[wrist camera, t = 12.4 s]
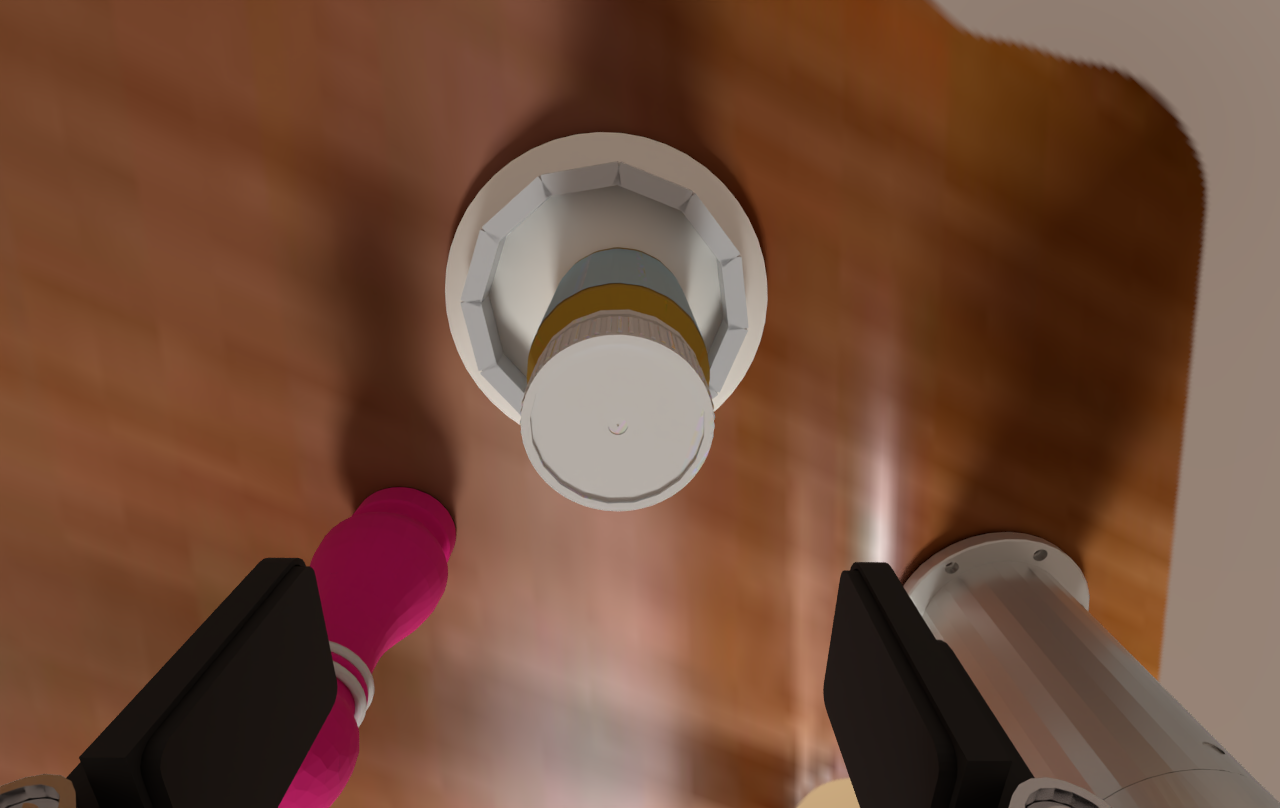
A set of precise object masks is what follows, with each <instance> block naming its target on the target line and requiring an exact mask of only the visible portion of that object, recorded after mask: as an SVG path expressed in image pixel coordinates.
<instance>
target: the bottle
mask: <svg viewBox="0 0 1280 808" xmlns="http://www.w3.org/2000/svg"><path fill="white" fill-rule="evenodd" d="M709 381H710V368H709V361H708V355H707V350H706V346H705V343H704V340H703V338H702V335H701V333H700V330H699V328H698V326H697V323H696V321H695V318H694V316H693V314H692V311H691V309H690V306H689V304H688V302H687V299H686V297H685V294H684V292H683V290H682V288H681V286H680V285H679V283H678V281H677V279H676V277H675V276H674V275H673V273H672V272H671V271H670V270H669V269H668V268H667V267H666V266H665V265H664V264H663V263H662V262H661V261H659V260H658V259H657V258H655V257H653V256H651V255H649V254H647V253H644V252H642V251H640V250H636V249H629V248H621V247H614V248H609V249H604V250H599V251H596V252H593V253H591V254H590V255H588V256H586V257H584V258H582V259H581V260H579V261H578V262H577V263H575V264H574V265H573V266H572V268H571V269H570V270H569V271H568V272H567V273H566V274H565V275H564V277H563V278H562V279H561V281H560V283H559V285H558V287H557V289H556V291H555V293H554V296H553V298H552V300H551V302H550V304H549V306H548V309H547V311H546V313H545V315H544V317H543V319H542V322H541V324H540V326H539V328H538V330H537V333H536V335H535V338H534V340H533V342H532V345H531V348H530V352H529V356H528V365H527V387H526V390H525V392H524V397H523V400H522V403H521V405H522V408H521V411H520V416H521V420H520V426H521V435H522V439H523V444H524V447H525V450H526V452H527V455H528V457H529V459H530V461H531V463H532V465H533V466H534V468H535V469H536V471H537V472H538V474H539V475H540V476H541V477H542V478H543V480H544V481H545V482H546V483H547V484H548V485H549V486H551V487H552V488H553V489H554V490H556V491H557V492H558V493H560V494H561V495H563V496H564V497H566V498H568V499H570V500H572V501H574V502H576V503H578V504H581V505H584V506H587V507H590V508H594V509H599V510H606V511H629V510H636V509H641V508H645V507H649V506H652V505H654V504H657V503H659V502H661V501H664V500H666V499H667V498H669V497H671V496H672V495H674V494H676V493H677V492H678V491H680V490H681V489H682V488H683V487H684V486H686V485H687V484H688V483H689V482H690V481H691V480H692V478H693V477H694V476H695V475H696V474H697V472H698V471H699V469H700V468H701V466H702V465H703V463H704V461H705V459H706V457H707V455H708V452H709V449H710V447H711V443H712V439H713V436H714V434H713V431H714V428H715V424H714V419H715V414H714V411H713V410H714V404H713V402H712V396H711V393H710V390H709Z"/></svg>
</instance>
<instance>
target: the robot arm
mask: <svg viewBox="0 0 1280 808" xmlns="http://www.w3.org/2000/svg"><path fill="white" fill-rule="evenodd" d="M1089 598H1090V595H1089V590H1088V585H1087V581H1086V579H1085V577H1084V575H1083V573H1082V571H1081V569H1080V568H1079V567H1078V566H1077V564H1076V563H1075V562H1074V561H1073V560H1072V559H1071V558H1070V557H1069V556H1068V555H1067V554H1066V553H1064V552H1063V551H1062V550H1061V549H1060V548H1059V547H1057V546H1056V545H1054V544H1052V543H1050V542H1048V541H1047V540H1045V539H1043V538H1040V537H1036V536H1033V535H1029V534H1025V533H1015V532H998V533H988V534H983V535H979V536H974V537H970V538H967V539H965V540H962V541H960V542H957V543H954V544H952V545H950V546H948V547H947V548H945V549H943V550H941V551H939V552H938V553H936V554H934V555H933V556H932V557H931V558H929V559H928V560H927V561H926V562H924V563H923V564H922V565H920V566H919V568H918V569H917V570H916V571H915V572H914V573H913V574H912V575H911V576H910V577H909V578H908V580H907V581H906V583H905V584H904V586H903V585H902V584H901V582H900V581H899V579H898V577H897V576H896V574H895V573H894V571H893V569H892V568H891V566H890V565H889V564H888V563H880V562H855V563H853V565H852V566H851V570H850V571H843V572H842V574H841V577H840V583H839V589H838V596H837V602H836V609H835V615H834V622H833V628H832V635H831V641H830V648H829V654H828V661H827V667H826V674H825V680H824V689H823V691H824V702H825V707H826V710H827V713H828V716H829V719H830V722H831V725H832V728H833V731H834V733H835V736H836V739H837V742H838V745H839V748H840V751H841V754H842V756H843V759H844V762H845V765H846V768H847V771H848V774H849V777H850V780H851V782H852V785H853V788H854V791H855V794H856V797H857V800H858V802H859V805H860V808H1280V803H1279V801H1278V800H1276V799H1275V798H1274V796H1273V795H1272V794H1270V792H1269V791H1267V790H1266V789H1265V788H1264V787H1263V786H1262V785H1261V784H1260V783H1259V782H1258V781H1257V780H1256V779H1255V778H1254V777H1253V776H1252V775H1251V774H1250V773H1249V772H1248V771H1247V770H1246V769H1245V768H1244V767H1243V766H1242V765H1241V764H1240V763H1239V762H1238V761H1237V760H1236V759H1235V758H1234V757H1233V756H1232V755H1231V754H1230V753H1229V752H1228V751H1227V750H1226V749H1225V748H1224V747H1223V746H1222V745H1221V744H1220V743H1219V742H1218V741H1217V740H1216V739H1215V738H1214V737H1213V736H1212V735H1211V734H1210V733H1209V732H1208V731H1207V730H1206V729H1205V728H1204V727H1203V726H1202V725H1201V724H1200V723H1199V722H1198V721H1197V720H1196V719H1195V718H1194V717H1193V716H1192V715H1191V714H1190V713H1189V712H1188V711H1187V710H1186V709H1185V708H1184V707H1183V706H1182V705H1181V704H1180V703H1179V702H1178V701H1177V700H1176V699H1175V698H1174V697H1173V696H1172V695H1171V694H1170V693H1169V692H1168V691H1167V690H1166V689H1165V688H1164V687H1163V686H1162V685H1161V684H1160V683H1159V682H1158V681H1157V680H1156V679H1155V678H1154V677H1153V676H1152V675H1151V674H1150V673H1149V672H1148V671H1147V670H1146V669H1145V668H1144V667H1143V666H1142V665H1141V664H1140V663H1139V662H1138V661H1137V660H1136V659H1135V658H1134V657H1133V656H1132V655H1131V654H1130V653H1129V652H1128V651H1127V650H1126V649H1125V648H1124V647H1123V646H1122V645H1121V644H1120V643H1119V642H1118V641H1117V640H1116V639H1115V638H1114V637H1113V636H1112V635H1111V634H1110V633H1109V632H1108V631H1107V630H1106V629H1105V628H1104V627H1103V626H1102V625H1101V624H1100V623H1099V622H1098V621H1097V620H1096V619H1095V618H1094V617H1093V616H1092V615H1091V614H1090V613H1089V612H1088V611H1089ZM337 688H338V686H337V679H336V674H335V669H334V664H333V659H332V654H331V649H330V644H329V640H328V635H327V630H326V625H325V620H324V615H323V610H322V605H321V600H320V595H319V590H318V585H317V580H316V575H315V572H314V570H313V568H312V567H309V566H306V565H305V563H304V561H303V560H302V559H300V558H265V559H263V560H262V561H260V562H259V563H258V564H257V565H256V567H255V568H254V569H253V570H252V571H251V572H250V573H249V574H248V575H247V576H246V577H245V578H244V580H243V581H242V582H241V583H240V584H239V585H238V586H237V587H236V588H235V589H234V590H233V591H232V593H231V594H230V595H229V596H228V597H227V598H226V599H225V600H224V601H223V602H222V603H221V604H220V606H219V607H218V608H217V609H216V610H215V611H214V612H213V613H212V614H211V615H210V616H209V617H208V619H207V620H206V621H205V622H204V623H203V624H202V625H201V626H200V627H199V628H198V629H197V630H196V631H195V633H194V634H193V635H192V636H191V637H190V638H189V639H188V640H187V641H186V642H185V643H184V644H183V646H182V647H181V648H180V649H179V650H178V651H177V652H176V653H175V654H174V655H173V656H172V657H171V659H170V660H169V661H168V662H167V663H166V664H165V665H164V666H163V667H162V668H161V669H160V670H159V672H158V673H157V674H156V675H155V676H154V677H153V678H152V679H151V680H150V681H149V682H148V683H147V684H146V686H145V687H144V688H143V689H142V690H141V691H140V692H139V693H138V694H137V695H136V696H135V697H134V699H133V700H132V701H131V702H130V703H129V704H128V705H127V706H126V707H125V708H124V709H123V710H122V712H121V713H120V714H119V715H118V716H117V717H116V718H115V719H114V720H113V721H112V722H111V723H110V725H109V726H108V727H107V728H106V729H105V730H104V731H103V732H102V733H101V734H100V735H99V736H98V738H97V739H96V740H95V741H94V742H93V743H92V744H91V745H90V746H89V747H88V748H87V749H86V750H85V752H84V753H83V754H82V755H81V756H80V757H79V759H80V761H81V762H80V763H79V765H78V766H77V767H76V768H75V769H74V770H73V771H72V772H71V773H70V774H69V776H68V777H67V778H65V777H63V776H61V775H51V774H42V775H37V776H31V777H25V778H22V779H19V780H16V781H14V782H11V783H8V784H5V785H2V786H0V808H278V806H279V805H280V803H281V801H282V799H283V797H284V796H285V794H286V792H287V790H288V788H289V786H290V785H291V783H292V781H293V779H294V777H295V775H296V774H297V772H298V770H299V768H300V766H301V764H302V763H303V761H304V759H305V757H306V755H307V754H308V752H309V750H310V748H311V746H312V744H313V743H314V741H315V739H316V737H317V735H318V733H319V732H320V730H321V728H322V726H323V724H324V722H325V721H326V719H327V717H328V715H329V713H330V712H331V710H332V708H333V706H334V703H335V700H336V696H337Z"/></svg>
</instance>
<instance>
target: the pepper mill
mask: <svg viewBox="0 0 1280 808" xmlns="http://www.w3.org/2000/svg"><path fill="white" fill-rule="evenodd" d="M455 541H456V529H455V525H454V522H453V520H452V518H451V516H450V514H449V512H448V511H447V510H446V509H445V507H444V506H443V505H442V504H441V503H440V502H439V501H438V500H436V499H435V498H433V497H432V496H430V495H429V494H426V493H424V492H421V491H419V490H416V489H412V488H406V487H392V488H387V489H383V490H380V491H377V492H375V493H373V494H372V495H370V496H369V497H367V498H366V499H365V500H364V501H363V502H362V503H361V505H360V506H359V507H358V509H357V510H356V511H355V513H354V514H353V515H352V517H350V518H348V519H346V520H344V521H342V522H340V523H339V524H338V525H336V526H335V527H334V528H333V529H331V530H330V532H329V533H328V534H327V535H326V536H325V537H324V539H323V540H322V542H321V544H320V545H319V547H318V549H317V550H316V552H315V554H314V556H313V559H312V561H311V564H310V567H312V568H313V570H314V572H315V575H316V580H317V585H318V590H319V595H320V600H321V605H322V610H323V615H324V620H325V625H326V630H327V635H328V640H329V644H330V649H331V654H332V659H333V664H334V669H335V674H336V679H337V686H338V688H337V696H336V700H335V703H334V706H333V708H332V710H331V712H330V713H329V715H328V717H327V719H326V721H325V722H324V724H323V726H322V728H321V730H320V732H319V733H318V735H317V737H316V739H315V741H314V743H313V744H312V746H311V748H310V750H309V752H308V754H307V755H306V757H305V759H304V761H303V763H302V764H301V766H300V768H299V770H298V772H297V774H296V775H295V777H294V779H293V781H292V783H291V785H290V786H289V788H288V790H287V792H286V794H285V796H284V797H283V799H282V801H281V803H280V805H279V806H278V808H329V807H330V806H331V805H332V803H333V802H334V801H335V800H336V798H337V797H338V796H339V795H340V794H341V792H342V790H343V789H344V787H345V785H346V784H347V782H348V780H349V778H350V776H351V774H352V772H353V769H354V766H355V763H356V760H357V757H358V753H359V729H358V727H359V726H360V724H361V723H362V721H363V719H364V717H365V713H366V710H367V709H368V707H369V706H370V704H371V702H372V699H373V695H374V680H373V677H372V672H373V670H374V668H375V666H376V664H377V662H378V661H379V659H380V657H381V656H382V655H383V654H384V653H385V652H386V651H387V650H388V649H390V648H391V647H392V646H393V645H395V644H396V643H397V642H399V641H400V640H402V639H403V638H405V637H406V636H408V635H409V634H411V633H412V632H413V631H414V630H416V629H417V628H418V627H419V626H420V625H421V624H422V623H423V622H424V621H425V620H426V619H427V618H428V617H429V615H430V614H431V613H432V612H433V611H434V609H435V607H436V605H437V604H438V602H439V600H440V598H441V597H442V595H443V593H444V591H445V587H446V583H447V578H448V566H447V562H448V560H449V557H450V555H451V553H452V551H453V548H454V545H455Z"/></svg>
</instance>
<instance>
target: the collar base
mask: <svg viewBox="0 0 1280 808" xmlns="http://www.w3.org/2000/svg"><path fill="white" fill-rule="evenodd" d="M614 247H621V248H629V249H636V250H640V251H642V252H644V253H647V254H649V255H651V256H653V257H655V258H657V259H658V260H659V261H661V262H662V263H663V264H664V265H665V266H666V267H667V268H668V269H669V270H670V271H671V272H672V273H673V275H674V276H675V277H676V279H677V281H678V283H679V285H680V286H681V288H682V290H683V292H684V294H685V297H686V299H687V302H688V304H689V306H690V309H691V311H692V314H693V316H694V318H695V321H696V323H697V326H698V328H699V330H700V333H701V335H702V338H703V340H704V343H705V346H706V350H707V355H708V361H709V368H710V381H709V390H710V393H711V396H712V402H713V404H714V410H713V411H715V410H716V409H718V408H719V407H720V406H721V405H722V404H723V402H724V401H725V400H726V399H727V398H728V397H729V396H730V395H731V394H732V393H733V391H734V390H735V389H736V387H737V386H738V384H739V383H740V382H741V380H742V379H743V377H744V376H745V374H746V372H747V370H748V368H749V366H750V365H751V363H752V361H753V359H754V356H755V354H756V351H757V348H758V346H759V343H760V340H761V336H762V332H763V328H764V324H765V318H766V309H767V277H766V271H765V264H764V258H763V255H762V252H761V248H760V245H759V242H758V238H757V236H756V234H755V232H754V229H753V227H752V225H751V223H750V221H749V218H748V217H747V215H746V214H745V212H744V210H743V209H742V207H741V206H740V204H739V202H738V201H737V199H736V198H735V197H734V196H733V195H732V193H731V192H730V191H729V190H728V189H727V187H726V186H725V185H724V184H723V183H722V182H721V181H720V180H719V179H718V178H717V177H716V176H715V175H714V174H712V173H711V172H710V171H709V170H708V169H707V168H706V167H704V166H703V165H701V164H700V163H699V162H697V161H696V160H694V159H693V158H691V157H690V156H688V155H687V154H685V153H683V152H681V151H679V150H677V149H675V148H673V147H671V146H669V145H667V144H664V143H661V142H658V141H655V140H652V139H649V138H646V137H641V136H636V135H630V134H625V133H610V132H595V133H585V134H575V135H571V136H567V137H563V138H559V139H555V140H552V141H550V142H547V143H545V144H542V145H540V146H538V147H535V148H533V149H531V150H529V151H527V152H526V153H524V154H522V155H521V156H519V157H517V158H516V159H514V160H512V161H511V162H510V163H509V164H507V165H506V166H505V167H504V168H502V169H501V170H500V171H499V172H497V173H496V174H495V175H494V176H493V177H492V178H491V179H490V180H489V181H488V182H487V183H486V185H485V186H484V187H483V188H482V189H481V190H480V191H479V193H478V194H477V195H476V197H475V198H474V200H473V201H472V203H471V204H470V205H469V207H468V208H467V210H466V212H465V214H464V216H463V218H462V220H461V222H460V224H459V226H458V228H457V231H456V233H455V236H454V239H453V242H452V245H451V248H450V253H449V258H448V263H447V268H446V282H445V297H446V310H447V316H448V321H449V325H450V330H451V334H452V337H453V339H454V342H455V345H456V348H457V351H458V353H459V355H460V357H461V359H462V361H463V363H464V365H465V367H466V369H467V371H468V372H469V374H470V375H471V377H472V378H473V380H474V381H475V383H476V384H477V386H478V387H479V388H480V389H481V390H482V392H483V393H484V394H485V395H486V396H487V397H488V398H489V400H490V401H491V402H492V403H493V404H494V405H496V406H497V407H498V408H499V409H500V410H501V411H502V412H503V413H504V414H505V415H507V416H508V417H510V418H511V419H512V420H514V421H515V422H517V423H518V424H519V425H520V420H521V416H520V411H521V408H522V405H521V403H522V400H523V397H524V392H525V390H526V387H527V365H528V356H529V352H530V348H531V345H532V342H533V340H534V338H535V335H536V333H537V330H538V328H539V326H540V324H541V322H542V319H543V317H544V315H545V313H546V311H547V309H548V306H549V304H550V302H551V300H552V298H553V296H554V293H555V291H556V289H557V287H558V285H559V283H560V281H561V279H562V278H563V277H564V275H565V274H566V273H567V272H568V271H569V270H570V269H571V268H572V266H573V265H574V264H575V263H577V262H578V261H579V260H581V259H582V258H584V257H586V256H588V255H590V254H591V253H593V252H596V251H599V250H604V249H609V248H614Z"/></svg>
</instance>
